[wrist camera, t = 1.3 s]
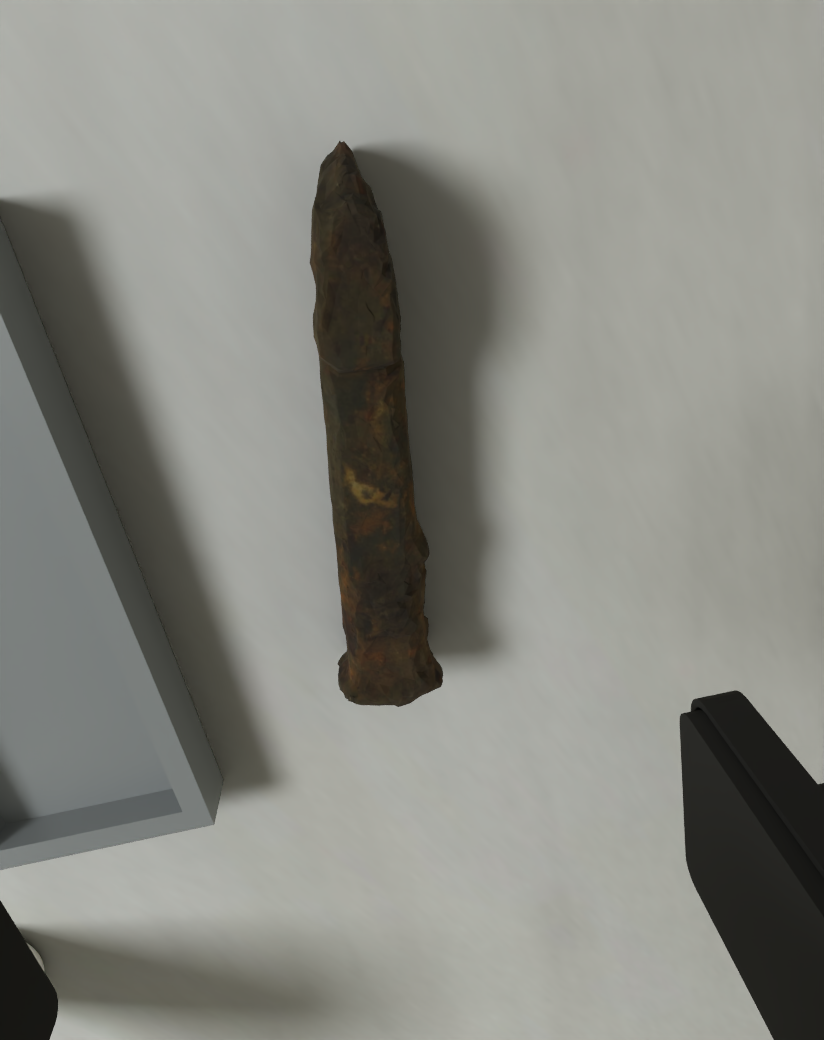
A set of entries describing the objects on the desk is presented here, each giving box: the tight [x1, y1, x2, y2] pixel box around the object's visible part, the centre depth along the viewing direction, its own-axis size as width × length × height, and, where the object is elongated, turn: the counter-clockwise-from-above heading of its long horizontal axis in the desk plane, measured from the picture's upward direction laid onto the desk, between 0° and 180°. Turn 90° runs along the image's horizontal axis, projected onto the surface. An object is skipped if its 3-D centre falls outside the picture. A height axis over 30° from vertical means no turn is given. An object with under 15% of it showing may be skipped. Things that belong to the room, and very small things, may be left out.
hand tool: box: [310, 141, 443, 707], centre depth 24 cm, size 19×4×5 cm, turn 1°
